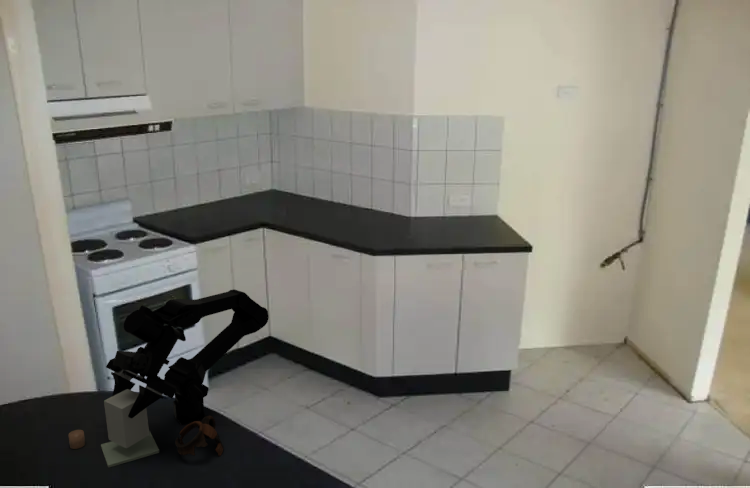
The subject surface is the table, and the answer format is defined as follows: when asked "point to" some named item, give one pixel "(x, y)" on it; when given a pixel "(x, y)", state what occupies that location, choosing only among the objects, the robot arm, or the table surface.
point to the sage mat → (128, 451)
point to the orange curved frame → (199, 436)
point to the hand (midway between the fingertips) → (120, 412)
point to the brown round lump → (76, 439)
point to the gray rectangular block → (125, 419)
